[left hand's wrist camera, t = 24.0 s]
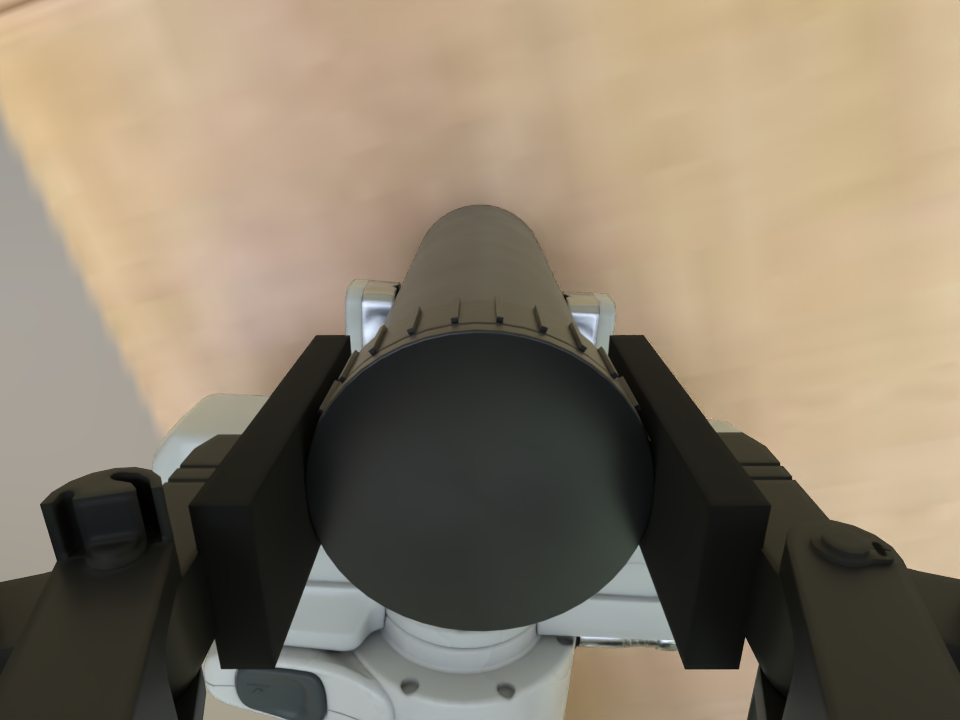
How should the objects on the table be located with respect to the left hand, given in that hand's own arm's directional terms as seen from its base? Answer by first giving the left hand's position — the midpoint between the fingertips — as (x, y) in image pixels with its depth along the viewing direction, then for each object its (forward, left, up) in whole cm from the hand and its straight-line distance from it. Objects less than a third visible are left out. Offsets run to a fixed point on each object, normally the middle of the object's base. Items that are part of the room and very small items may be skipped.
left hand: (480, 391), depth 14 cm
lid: (0, 0, +4) cm, 4 cm away
